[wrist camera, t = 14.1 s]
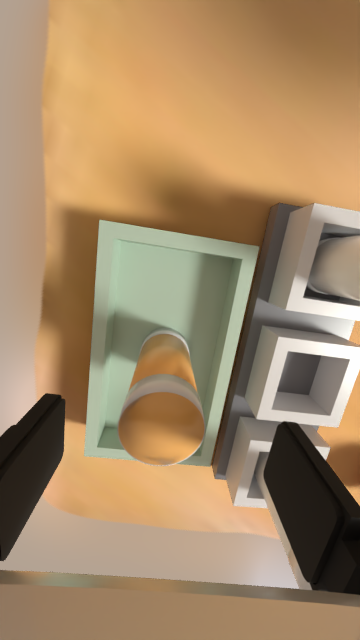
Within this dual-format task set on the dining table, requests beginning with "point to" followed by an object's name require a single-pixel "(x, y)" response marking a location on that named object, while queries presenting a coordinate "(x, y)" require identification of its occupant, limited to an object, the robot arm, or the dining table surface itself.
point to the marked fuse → (162, 403)
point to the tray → (163, 320)
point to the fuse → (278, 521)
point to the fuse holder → (288, 348)
